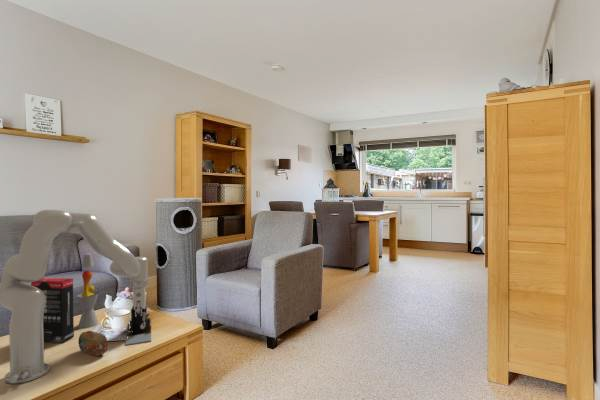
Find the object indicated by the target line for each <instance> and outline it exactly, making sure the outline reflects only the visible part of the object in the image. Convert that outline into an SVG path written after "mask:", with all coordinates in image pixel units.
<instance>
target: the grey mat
mask: <svg viewBox="0 0 600 400" xmlns="http://www.w3.org/2000/svg"><path fill="white" fill-rule="evenodd" d="M128 336H129V338H128V339H127V338H126V339H127V340H125V346H131V345H132V346H133V345H138V344H143V343H151V342H152V332H151V333H150V332H148V333H140V334H134V335H128Z"/></svg>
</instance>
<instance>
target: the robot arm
mask: <svg viewBox="0 0 600 400" xmlns="http://www.w3.org/2000/svg"><path fill="white" fill-rule="evenodd" d="M61 233H64V234H78V235H80V236H81V237H82V238H83V240H85V241H86V243H87V244H88V245H89V246H90V248H92V250H93V251H94V252H95V253H97V254H98V255H100V256H102V257H104V258H106V259H108V260H110V261H112V262H111V264H110V266H109V271H110V272H111V273H112V274H113V275H115V276H118V277H124V278H129V288H130V289H132V306H134V310H135V325H141V324H142V323H143V315H142V309H145V307H146V301H147V300H146V297H147V295H146V294H147V293H146V291H147V290H146V288H147V287H148V286H149V285H148V284H149V282H148V281H149V280H148V279H149V278H148V277H149V275H148V274H149V271H148V270H149V269H148V268H149V265H148V261H149V259H148V257H147V256H146V257H145V256H135V255H134V254H133V253H132V252H131V251H130V250H129V249H128V248H126V247H125V246H124V245H123V244H121V243H120V242H118V240H116V239H115V238H114V237H113V236H112V235H111V234H110V233H109V231H108V230H107V228H106V227H104V225H103V224H102V223H101V221H100V219H98V218H97V216H95V215H93V214H91V213H78V212H68V211H66V210H60V209H43V210H40V211H38V212H37V213H36V214H35V215H34V216H33V218H32V225H31V226H30V227H29V228H28V229H27V230H26V232H25V233H24V235H23V237H22V240H21V245H20V249H19V253H17V254H14V255H13V256H12V255H11V257H10V258H8V259H7V261H6V262H5V264H4V265H3V269H2V273H1V277H0V305H1V306H2V307H3V308H5V309H6V310H9V311H11V316H10V320H9V328H8V330H9V331H8V335H9V372H7V373H5V375H4V377H3V380H4V381H3V382H5V383H6V384H11V385H13V384H14V385H15V384H22V383H27V382H31V381H33V380H36V379H38V378H41V377H43V376H44V375H45V374H47V373H48V372H49V370H50V364H48V363H46V362H45V351H44V350H45V348H44V347H45V345H44V344H45V342H44V330H43V316H44V309H45V303H46V298H45V295H44V293H43V292H42V291H41V290H40V289H39V288H37V287H34V286H31V282H36V281H38V280H40V279H42V278H44V276H45V275H46V272H47V269H48V268H47V267H48V261H49V255H50V249H51V246H52V243H53V241H54V239H55V238H56V237H57V236H59V234H61ZM136 308H137V309H136ZM140 308H141V309H140ZM146 308H147V307H146ZM140 310H141V311H140Z"/></svg>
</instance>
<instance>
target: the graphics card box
mask: <svg viewBox="0 0 600 400" xmlns="http://www.w3.org/2000/svg"><path fill="white" fill-rule="evenodd" d="M31 286H34V287H37V288H39V289H40V290H41V291H42V292H43V293H44V295H45V298H46V303H45V309H44V316H43V330H44V343H45V342H46V343H48V342H49V343H60V344H62V343H66V342H67V341H69V340H71V339H72V338H74V335H75V333H74V329H75V328H74V326H75V324H74V323H75V322H74V278H66V277H65V278H63V277H62V278H61V277H60V278H59V277H43V278H42V279H40V280H38V281H36V282H31Z"/></svg>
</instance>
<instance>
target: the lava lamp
mask: <svg viewBox="0 0 600 400" xmlns="http://www.w3.org/2000/svg"><path fill="white" fill-rule="evenodd" d="M92 256H93V255H92V253H84V254H83V258H82V265H81V268H93V267H94V261H93V257H92ZM92 277H93V272H92V271H90V270H85V271H83V272H82V275H81V278H82V281H83V292H82V293H79V294H77V295H76V296H77V299H78V302H79V304H80V306H81V308H82V312H81V315H80V316H81V317H80V318H79V319H80V320H79V322H78V325H77V327H78V328H79V329H87V328H92V327H95V326H97V325H98V324H99V320H98V317H97V315H96V311H95V309H94V307H95V305H96V302H97V299H98V298H99V297H98V296H99V294H100V293H99V292H97V291H95V286H94V285H92V284H91V285H90V281H91V279H92Z"/></svg>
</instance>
